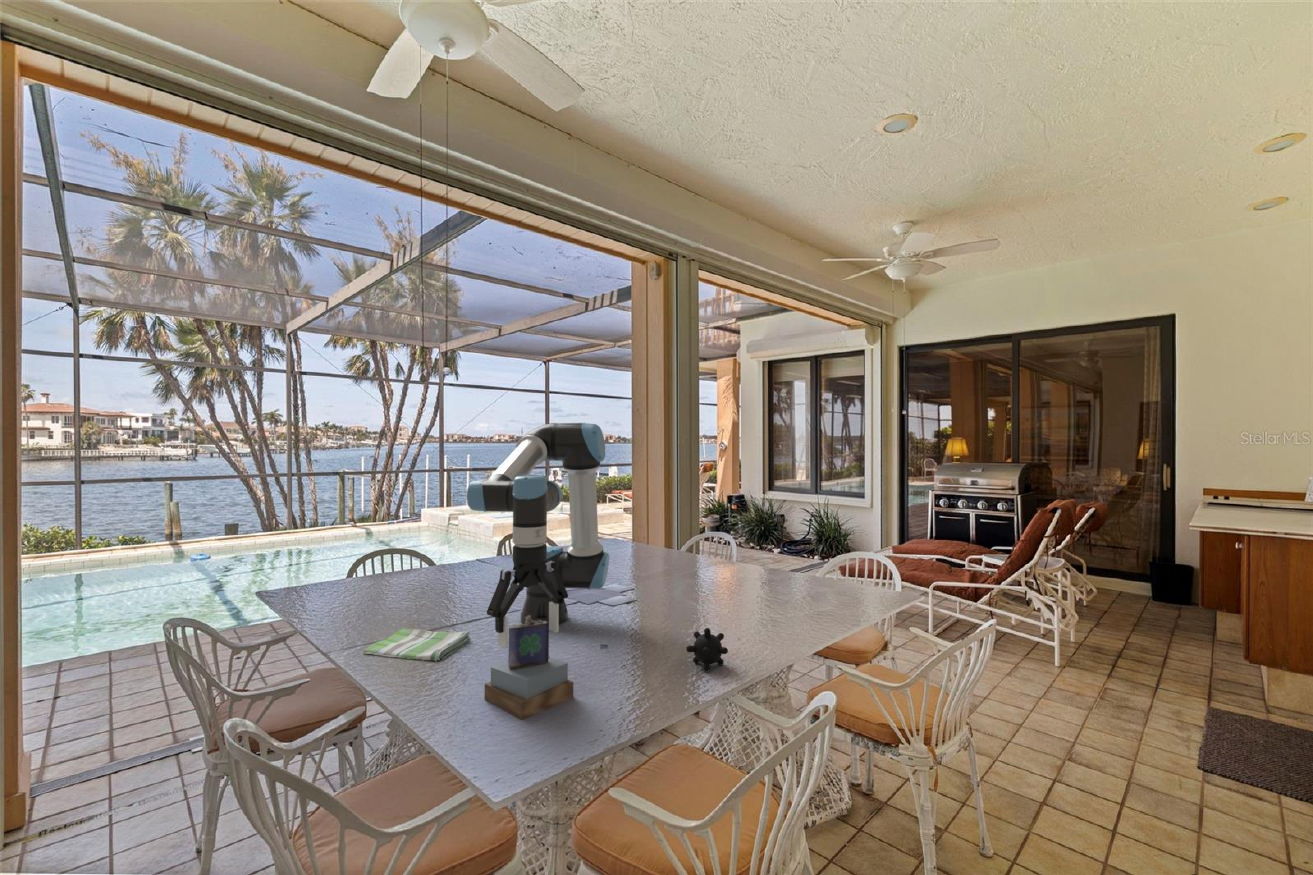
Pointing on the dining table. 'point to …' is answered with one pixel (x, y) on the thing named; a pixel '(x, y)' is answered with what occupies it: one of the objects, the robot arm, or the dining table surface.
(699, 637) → the toy ball
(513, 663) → the flask
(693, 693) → the dining table surface
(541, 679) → the tower top block
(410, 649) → the dish towel
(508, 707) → the tower base block
